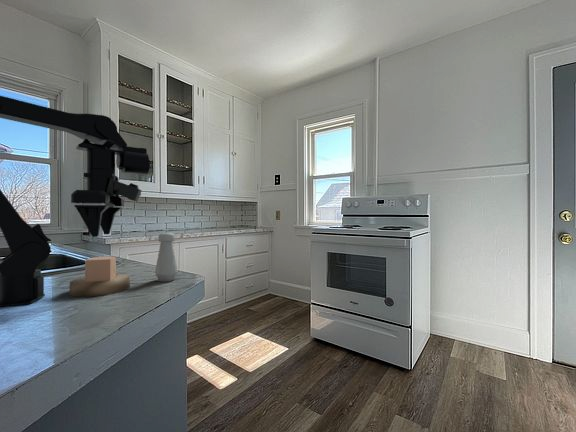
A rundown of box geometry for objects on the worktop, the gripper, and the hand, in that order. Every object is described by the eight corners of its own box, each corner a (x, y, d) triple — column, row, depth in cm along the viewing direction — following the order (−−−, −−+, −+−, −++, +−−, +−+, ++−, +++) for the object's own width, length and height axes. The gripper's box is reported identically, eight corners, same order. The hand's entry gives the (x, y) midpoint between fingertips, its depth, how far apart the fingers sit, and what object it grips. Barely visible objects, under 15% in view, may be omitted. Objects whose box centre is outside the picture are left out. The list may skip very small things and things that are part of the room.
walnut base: (59, 298, 60) (59, 286, 60) (80, 285, 71) (80, 275, 71) (123, 293, 64) (123, 282, 64) (134, 282, 75) (134, 272, 75)
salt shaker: (172, 282, 75) (172, 233, 75) (151, 282, 75) (150, 233, 75) (181, 277, 81) (181, 232, 81) (161, 277, 81) (161, 232, 81)
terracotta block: (85, 282, 64) (85, 260, 64) (92, 277, 69) (92, 257, 69) (110, 280, 66) (110, 259, 66) (115, 276, 71) (115, 256, 71)
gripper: (131, 165, 61) (131, 237, 61) (144, 177, 79) (144, 232, 79) (70, 162, 58) (70, 238, 58) (98, 175, 76) (98, 233, 75)
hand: (101, 235), depth 68 cm, fingers open, 9 cm apart
